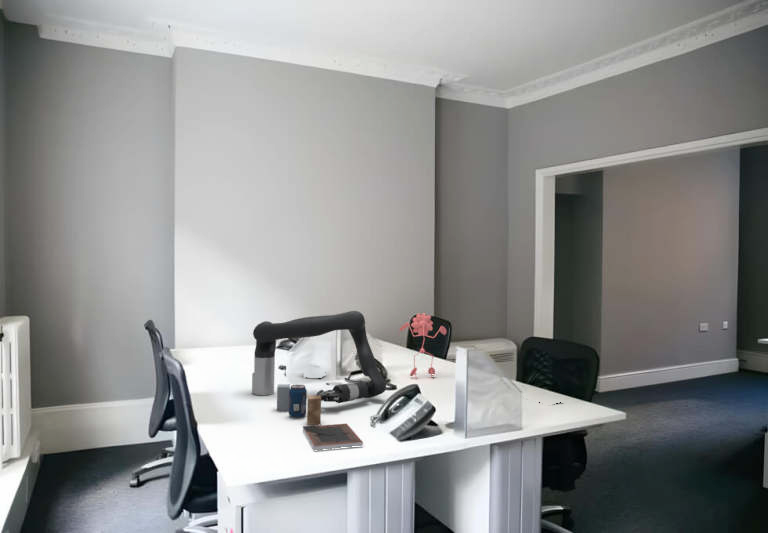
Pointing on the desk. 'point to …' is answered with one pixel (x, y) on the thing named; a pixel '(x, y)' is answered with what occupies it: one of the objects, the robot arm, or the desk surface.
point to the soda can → (297, 401)
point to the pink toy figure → (422, 327)
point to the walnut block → (314, 410)
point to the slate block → (283, 397)
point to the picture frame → (331, 436)
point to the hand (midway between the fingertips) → (311, 398)
